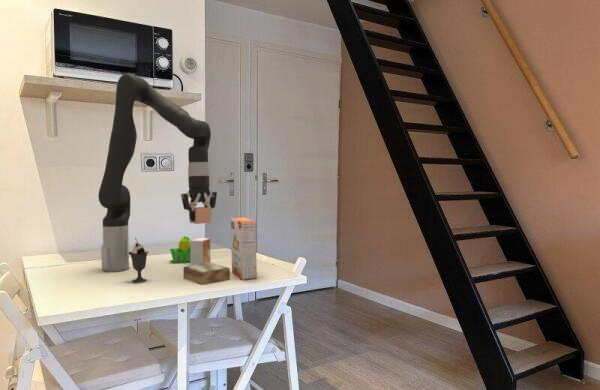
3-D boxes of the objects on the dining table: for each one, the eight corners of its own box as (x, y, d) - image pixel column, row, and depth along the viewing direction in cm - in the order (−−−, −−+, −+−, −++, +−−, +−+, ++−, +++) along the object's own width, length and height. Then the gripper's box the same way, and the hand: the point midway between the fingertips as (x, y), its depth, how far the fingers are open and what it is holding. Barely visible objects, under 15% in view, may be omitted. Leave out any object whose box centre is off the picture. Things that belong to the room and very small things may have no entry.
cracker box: (230, 272, 168) (230, 217, 167) (246, 270, 171) (245, 216, 169) (240, 280, 155) (240, 221, 154) (257, 278, 158) (256, 220, 157)
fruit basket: (197, 258, 194) (196, 233, 193) (199, 262, 186) (198, 236, 185) (170, 260, 190) (169, 234, 190) (170, 264, 182) (170, 237, 181)
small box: (203, 266, 178) (202, 240, 177) (190, 266, 179) (189, 240, 178) (211, 262, 185) (210, 238, 185) (198, 262, 187) (198, 237, 186)
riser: (202, 284, 149) (202, 272, 149) (183, 277, 159) (183, 266, 159) (229, 279, 157) (229, 267, 156) (210, 273, 166) (210, 261, 166)
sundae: (133, 278, 158) (132, 236, 157) (152, 278, 158) (151, 236, 157) (125, 283, 151) (125, 239, 150) (145, 283, 151) (144, 239, 150)
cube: (197, 223, 159) (197, 208, 159) (189, 222, 163) (189, 207, 163) (210, 222, 163) (210, 207, 163) (202, 221, 167) (202, 206, 167)
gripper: (210, 174, 170) (211, 218, 171) (175, 175, 160) (177, 221, 161) (221, 174, 165) (222, 219, 166) (186, 175, 155) (187, 223, 156)
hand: (200, 220), depth 163 cm, fingers closed on cube, 5 cm apart
